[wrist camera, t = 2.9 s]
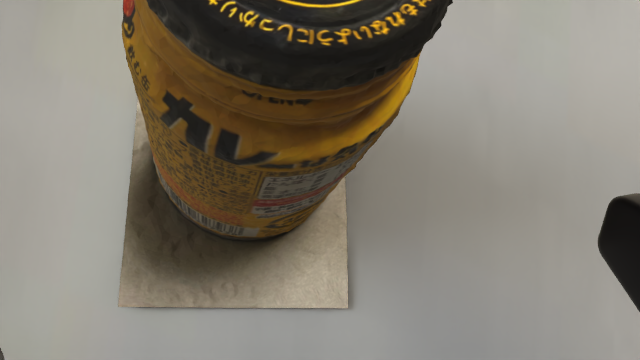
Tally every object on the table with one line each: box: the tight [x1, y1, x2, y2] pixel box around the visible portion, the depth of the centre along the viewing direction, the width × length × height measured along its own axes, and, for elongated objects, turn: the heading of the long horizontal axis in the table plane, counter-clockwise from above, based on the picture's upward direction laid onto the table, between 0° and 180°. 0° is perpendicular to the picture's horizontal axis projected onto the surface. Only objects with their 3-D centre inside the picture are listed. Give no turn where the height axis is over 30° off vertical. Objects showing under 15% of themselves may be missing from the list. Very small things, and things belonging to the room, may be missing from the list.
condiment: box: [118, 0, 453, 308], centre depth 14 cm, size 7×8×12 cm
